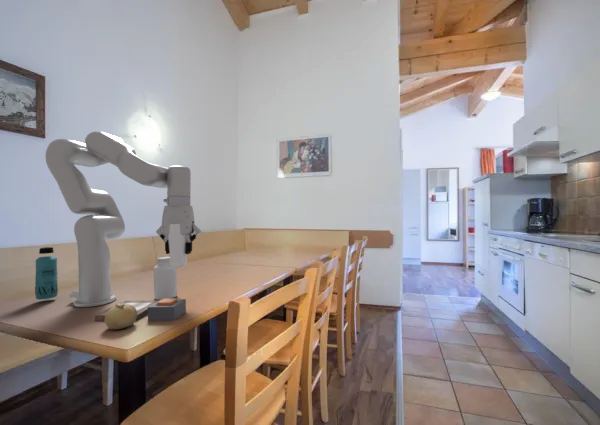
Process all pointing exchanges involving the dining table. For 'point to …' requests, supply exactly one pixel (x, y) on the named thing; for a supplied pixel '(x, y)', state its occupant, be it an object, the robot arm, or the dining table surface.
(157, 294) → the pill bottle
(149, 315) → the button housing
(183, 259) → the drinking glass
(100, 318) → the pallet
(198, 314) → the dining table surface
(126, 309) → the onion
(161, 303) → the button
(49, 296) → the beverage bottle
